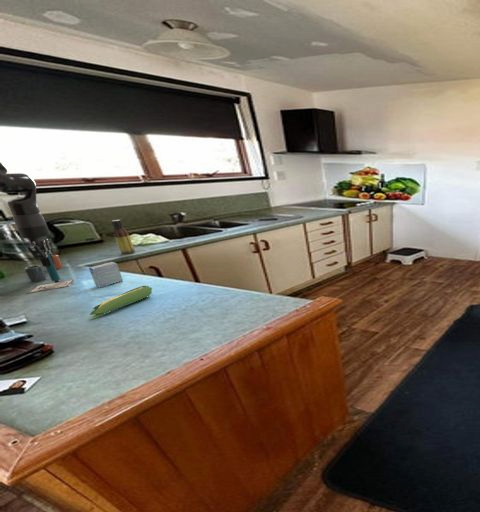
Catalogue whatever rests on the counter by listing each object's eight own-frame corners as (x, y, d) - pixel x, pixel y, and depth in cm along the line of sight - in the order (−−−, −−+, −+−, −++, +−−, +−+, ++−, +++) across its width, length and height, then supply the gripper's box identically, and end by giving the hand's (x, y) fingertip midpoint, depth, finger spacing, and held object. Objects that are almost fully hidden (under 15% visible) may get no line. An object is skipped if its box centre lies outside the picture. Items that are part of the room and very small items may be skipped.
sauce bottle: (129, 250, 165) (118, 218, 159) (137, 251, 164) (127, 219, 158) (117, 254, 159) (106, 221, 153) (126, 254, 158) (114, 221, 152)
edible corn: (157, 295, 108) (154, 284, 106) (93, 321, 90) (88, 309, 88) (148, 293, 109) (145, 283, 108) (83, 319, 91) (78, 307, 90)
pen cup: (47, 271, 134) (41, 258, 132) (51, 268, 138) (46, 255, 135) (61, 269, 136) (55, 256, 134) (64, 267, 140) (59, 254, 138)
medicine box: (118, 279, 124) (112, 261, 121) (123, 281, 122) (117, 263, 119) (95, 286, 117) (88, 267, 114) (100, 288, 115) (92, 269, 112)
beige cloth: (26, 294, 110) (25, 293, 109) (36, 287, 117) (36, 285, 117) (68, 287, 116) (67, 286, 116) (76, 280, 123) (75, 279, 123)
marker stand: (29, 284, 120) (22, 269, 117) (34, 280, 123) (27, 266, 121) (44, 281, 122) (37, 267, 120) (49, 278, 126) (42, 264, 123)
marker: (51, 283, 116) (38, 255, 112) (54, 281, 118) (41, 253, 114) (59, 282, 117) (47, 254, 113) (62, 280, 119) (50, 252, 115)
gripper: (26, 223, 113) (43, 262, 119) (7, 229, 102) (27, 272, 107) (52, 221, 117) (68, 258, 122) (37, 227, 106) (55, 268, 111)
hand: (49, 264), depth 115 cm, fingers closed on marker, 2 cm apart
